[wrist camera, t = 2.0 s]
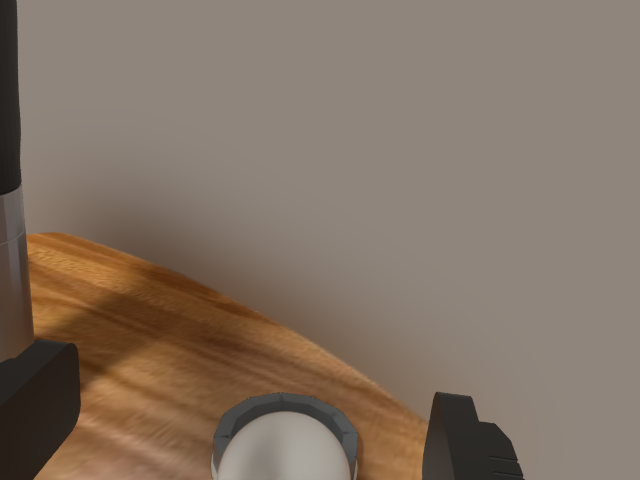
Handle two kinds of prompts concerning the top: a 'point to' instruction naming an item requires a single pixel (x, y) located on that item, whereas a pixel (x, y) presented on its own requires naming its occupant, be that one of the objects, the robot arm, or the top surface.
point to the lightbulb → (284, 450)
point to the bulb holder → (285, 402)
